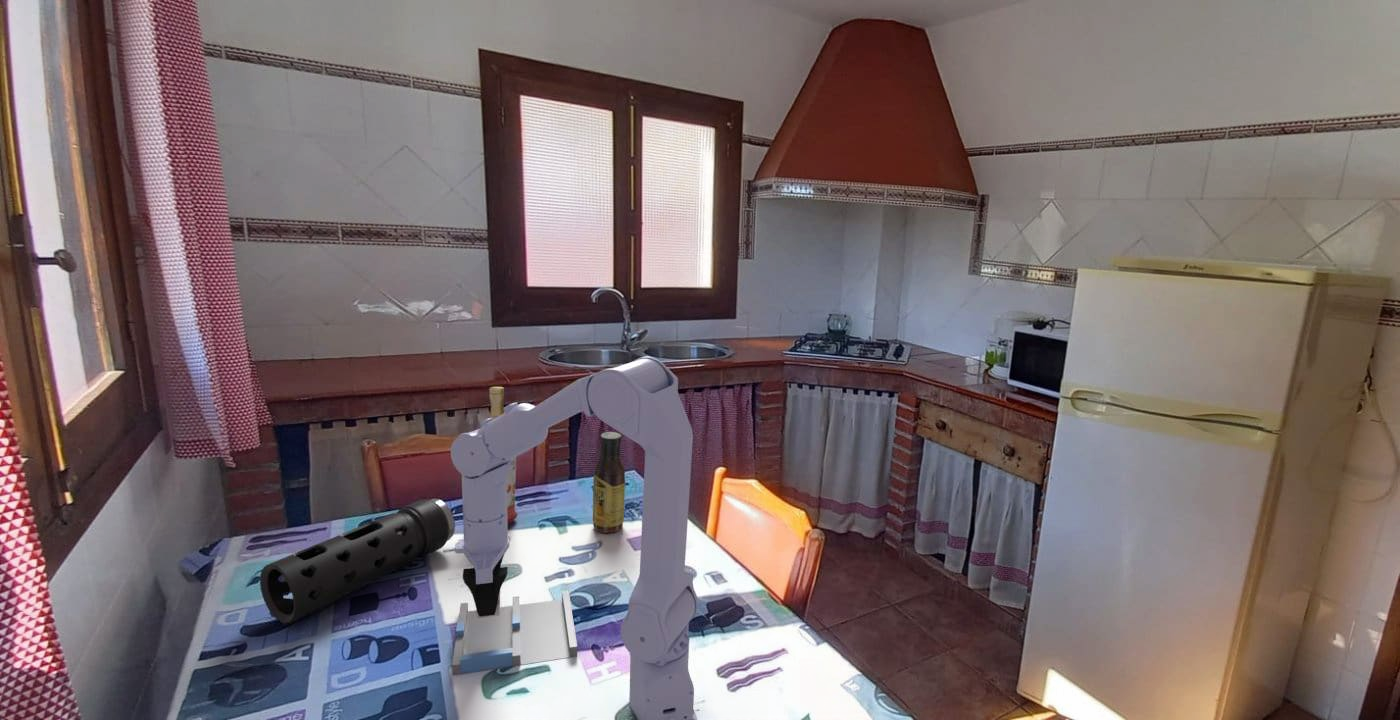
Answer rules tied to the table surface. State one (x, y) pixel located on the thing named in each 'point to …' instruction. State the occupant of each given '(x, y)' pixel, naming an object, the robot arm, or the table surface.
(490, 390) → the liquor
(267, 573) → the muzzle brake
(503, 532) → the robot arm
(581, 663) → the table surface
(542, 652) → the board
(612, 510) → the sauce bottle
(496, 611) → the beige rectangular box
